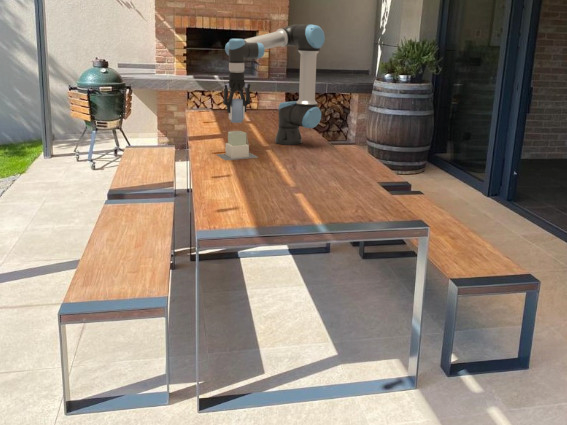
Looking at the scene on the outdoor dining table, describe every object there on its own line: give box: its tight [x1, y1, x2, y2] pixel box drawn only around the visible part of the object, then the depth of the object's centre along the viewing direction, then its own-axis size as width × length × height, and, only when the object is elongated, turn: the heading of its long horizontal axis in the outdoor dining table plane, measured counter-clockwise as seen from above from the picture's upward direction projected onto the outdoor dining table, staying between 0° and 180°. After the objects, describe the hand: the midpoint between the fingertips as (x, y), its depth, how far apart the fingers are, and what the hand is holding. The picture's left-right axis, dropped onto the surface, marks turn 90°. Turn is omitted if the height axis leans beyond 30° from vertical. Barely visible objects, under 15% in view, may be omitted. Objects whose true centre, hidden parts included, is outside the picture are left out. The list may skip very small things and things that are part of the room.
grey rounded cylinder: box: [230, 98, 244, 124], centre depth 319 cm, size 6×6×11 cm
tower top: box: [227, 130, 246, 146], centre depth 323 cm, size 7×7×6 cm
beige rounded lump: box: [243, 131, 250, 146], centre depth 345 cm, size 10×10×10 cm
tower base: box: [225, 142, 250, 159], centre depth 325 cm, size 9×9×6 cm
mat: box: [216, 152, 260, 161], centre depth 326 cm, size 18×14×1 cm
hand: (236, 119), depth 320 cm, fingers closed on grey rounded cylinder, 6 cm apart
